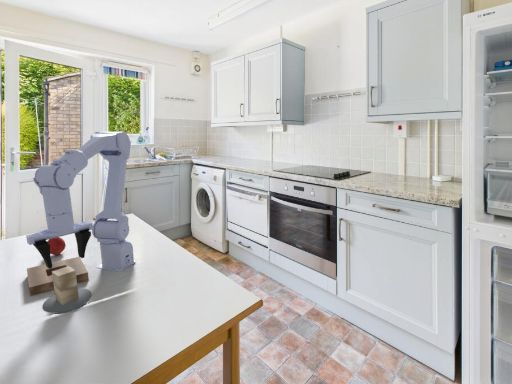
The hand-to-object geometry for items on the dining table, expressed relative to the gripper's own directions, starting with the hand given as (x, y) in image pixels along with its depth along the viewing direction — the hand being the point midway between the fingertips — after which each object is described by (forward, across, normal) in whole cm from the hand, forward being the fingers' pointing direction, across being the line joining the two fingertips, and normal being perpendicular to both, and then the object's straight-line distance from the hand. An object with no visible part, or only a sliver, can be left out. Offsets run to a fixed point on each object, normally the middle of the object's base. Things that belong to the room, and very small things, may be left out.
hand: (66, 261), depth 78 cm
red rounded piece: (+11, -8, -33) cm, 36 cm away
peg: (+10, +1, +1) cm, 10 cm away
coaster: (+10, +1, +2) cm, 11 cm away
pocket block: (+10, -1, -13) cm, 17 cm away
